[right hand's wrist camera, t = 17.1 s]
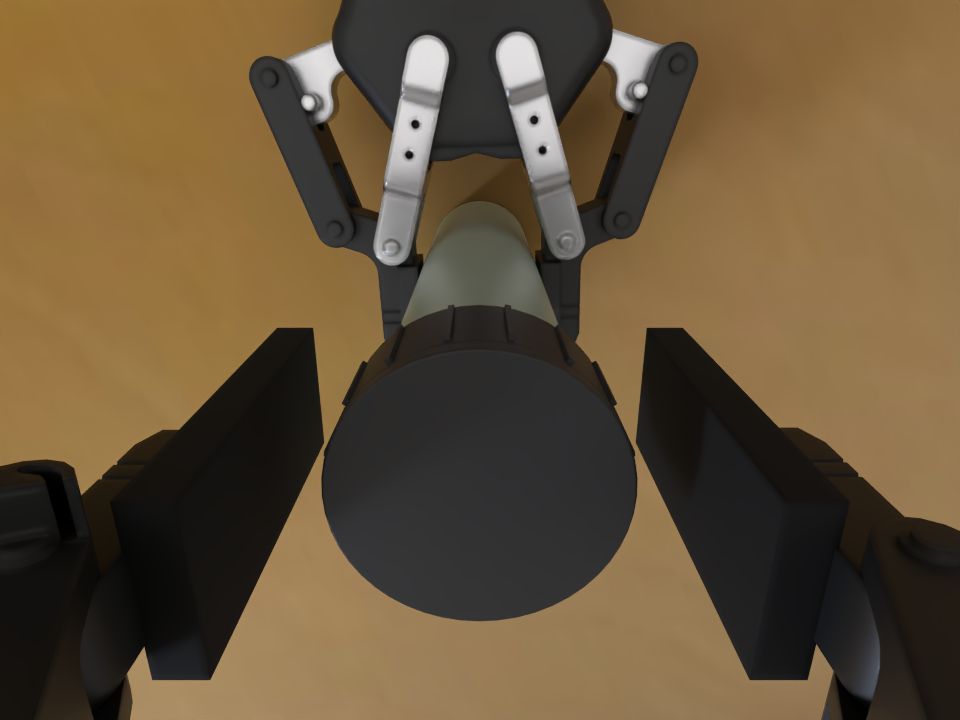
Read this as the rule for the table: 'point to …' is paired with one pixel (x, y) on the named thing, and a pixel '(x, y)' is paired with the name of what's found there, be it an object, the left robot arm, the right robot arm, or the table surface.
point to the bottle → (479, 265)
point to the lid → (479, 466)
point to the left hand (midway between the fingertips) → (483, 355)
